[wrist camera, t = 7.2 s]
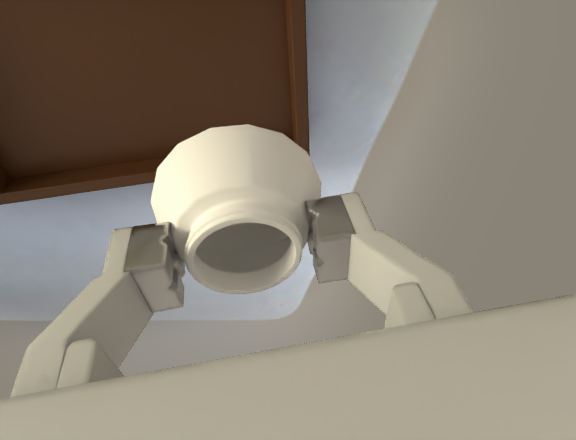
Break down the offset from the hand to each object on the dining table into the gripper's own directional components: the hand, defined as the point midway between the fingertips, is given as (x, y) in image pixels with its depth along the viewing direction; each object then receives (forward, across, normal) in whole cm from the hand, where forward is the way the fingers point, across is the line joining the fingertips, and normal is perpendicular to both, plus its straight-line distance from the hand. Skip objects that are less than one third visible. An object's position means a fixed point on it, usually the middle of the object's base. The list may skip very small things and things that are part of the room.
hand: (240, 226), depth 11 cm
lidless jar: (+2, 0, 0) cm, 2 cm away
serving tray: (+15, +5, 0) cm, 16 cm away
